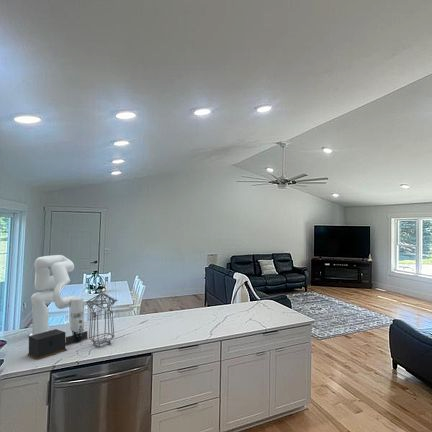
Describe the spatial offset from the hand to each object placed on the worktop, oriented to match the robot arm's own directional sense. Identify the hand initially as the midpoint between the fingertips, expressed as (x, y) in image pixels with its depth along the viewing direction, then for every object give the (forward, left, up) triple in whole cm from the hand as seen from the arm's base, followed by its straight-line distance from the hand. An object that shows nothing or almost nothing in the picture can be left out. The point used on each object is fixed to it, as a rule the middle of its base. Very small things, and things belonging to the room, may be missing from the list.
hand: (76, 340), depth 231 cm
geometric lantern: (+20, +6, -1) cm, 21 cm away
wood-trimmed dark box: (+4, -20, 0) cm, 20 cm away
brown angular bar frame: (-6, 0, 0) cm, 6 cm away
